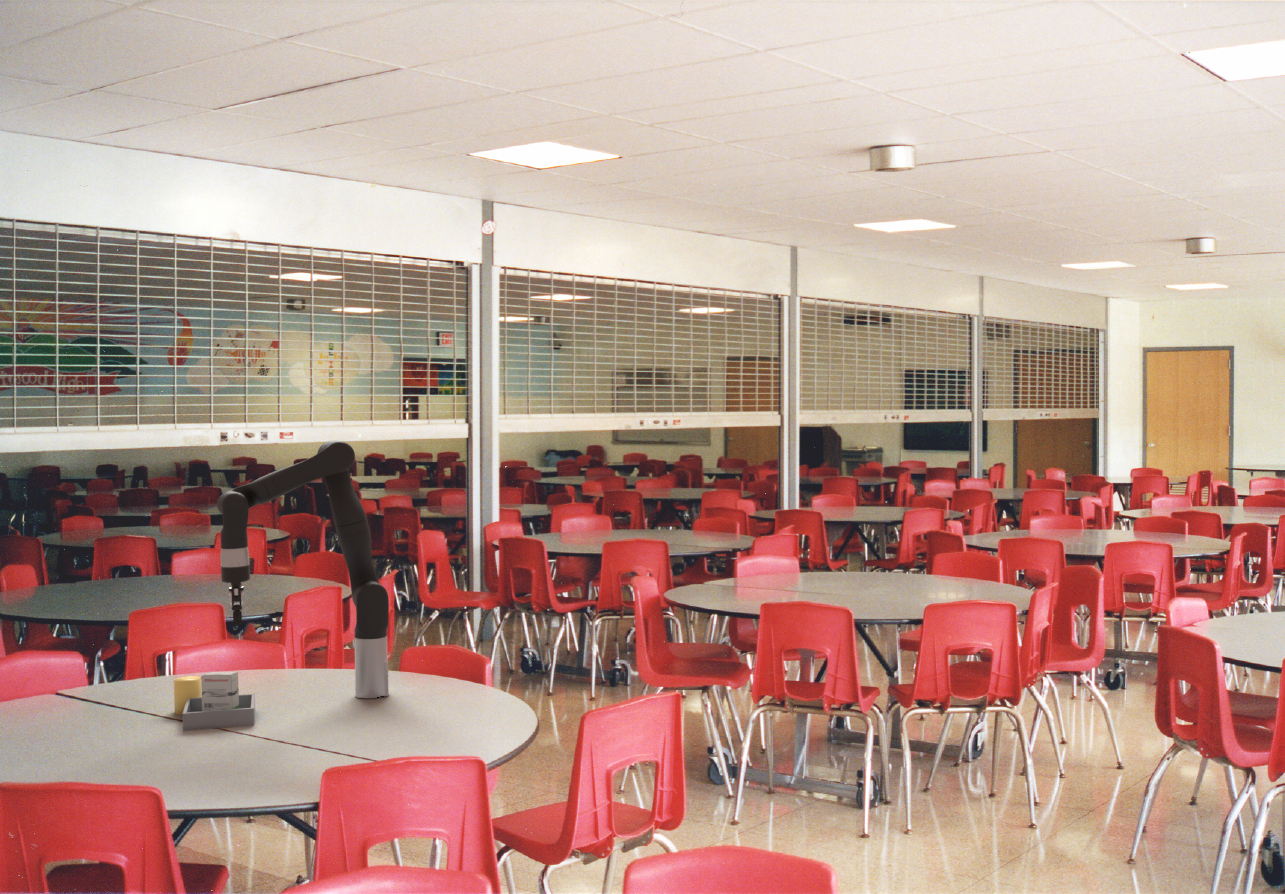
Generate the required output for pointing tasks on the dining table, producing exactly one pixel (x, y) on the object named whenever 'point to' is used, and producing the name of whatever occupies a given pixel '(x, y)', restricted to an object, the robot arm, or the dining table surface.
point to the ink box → (220, 691)
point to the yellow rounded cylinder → (185, 691)
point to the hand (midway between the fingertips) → (237, 622)
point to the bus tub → (218, 714)
